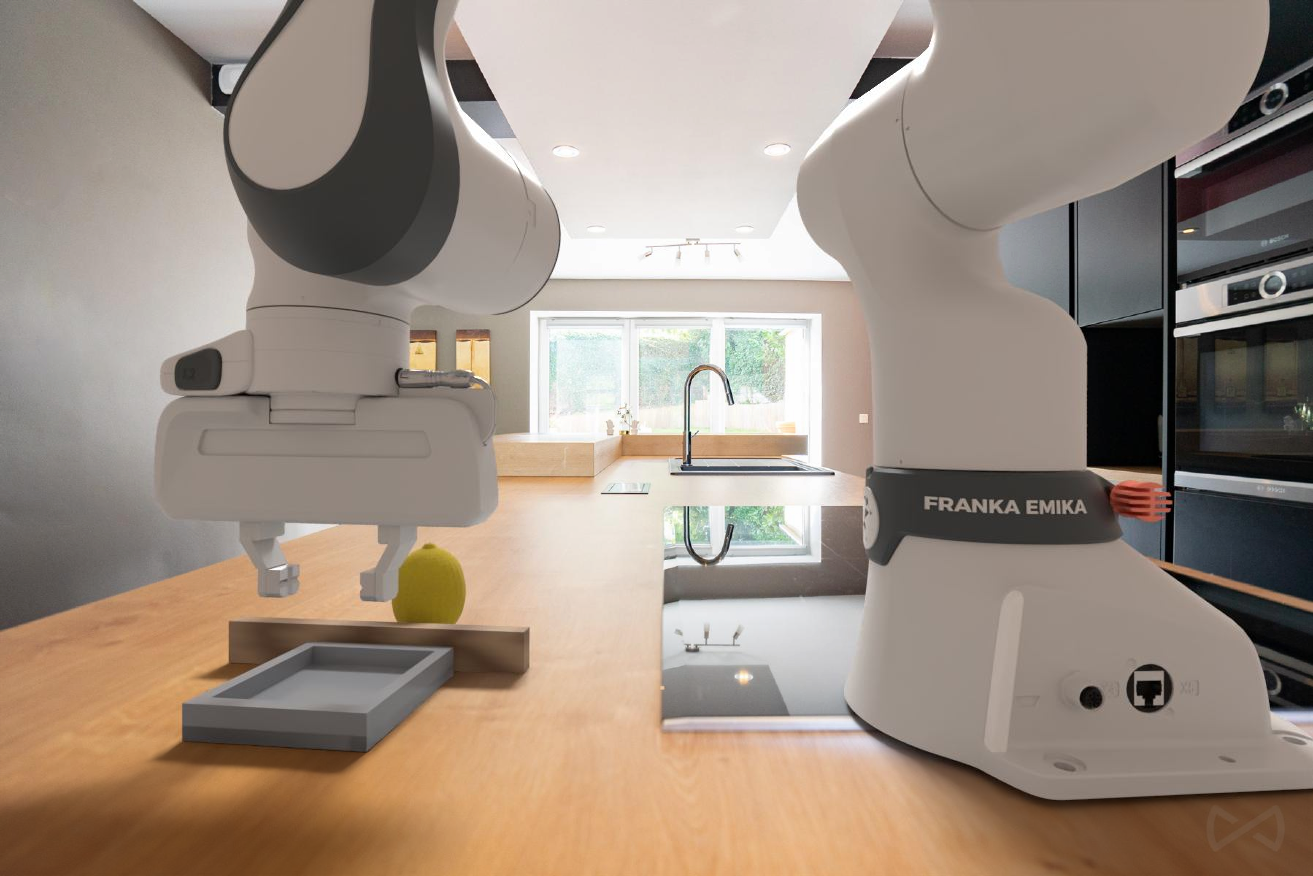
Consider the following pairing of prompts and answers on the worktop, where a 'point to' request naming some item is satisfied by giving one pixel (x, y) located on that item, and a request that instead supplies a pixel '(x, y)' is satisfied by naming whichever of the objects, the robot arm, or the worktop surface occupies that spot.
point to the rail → (383, 640)
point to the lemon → (430, 587)
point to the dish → (320, 696)
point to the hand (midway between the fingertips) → (328, 597)
